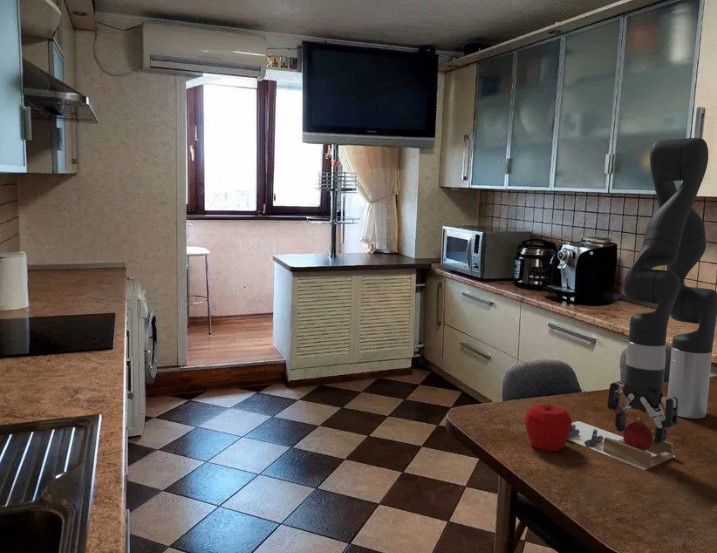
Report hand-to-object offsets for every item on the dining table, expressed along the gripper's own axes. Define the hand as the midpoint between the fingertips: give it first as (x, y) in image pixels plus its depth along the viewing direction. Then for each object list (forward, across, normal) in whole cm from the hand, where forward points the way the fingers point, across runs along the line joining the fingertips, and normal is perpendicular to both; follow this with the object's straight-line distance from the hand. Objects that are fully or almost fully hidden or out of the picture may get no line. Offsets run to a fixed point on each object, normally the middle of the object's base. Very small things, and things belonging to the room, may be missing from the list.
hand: (639, 436), depth 130 cm
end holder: (+4, 0, 0) cm, 4 cm away
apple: (+5, +14, +13) cm, 20 cm away
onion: (+4, 0, 0) cm, 4 cm away
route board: (+5, +7, +1) cm, 9 cm away
